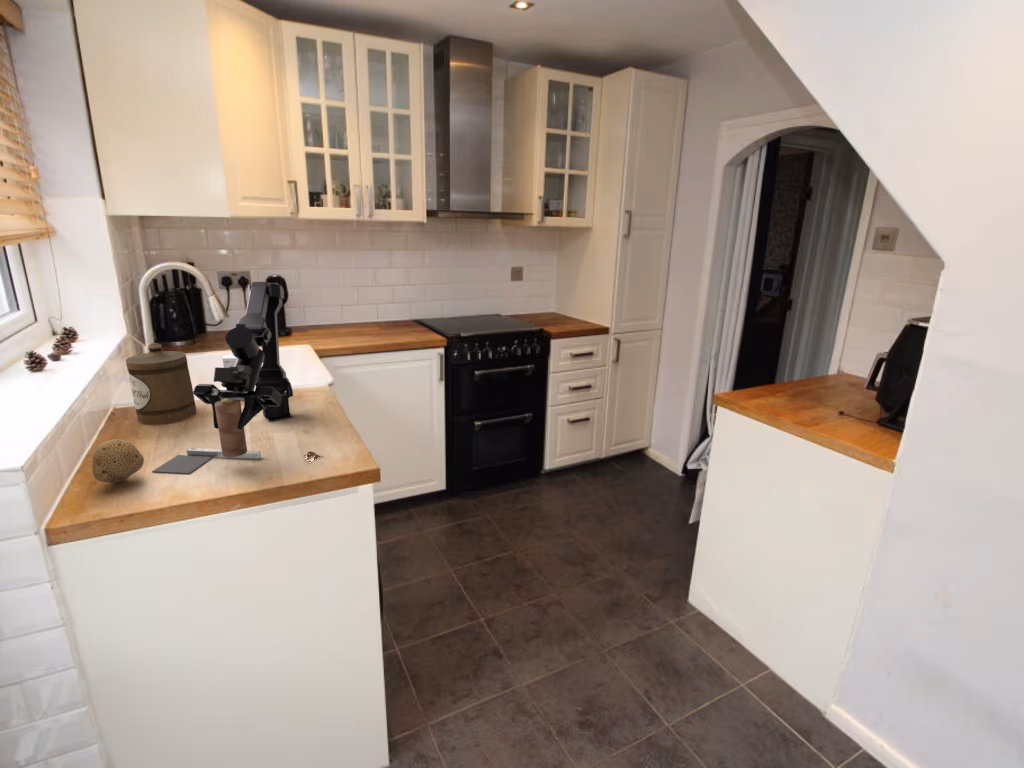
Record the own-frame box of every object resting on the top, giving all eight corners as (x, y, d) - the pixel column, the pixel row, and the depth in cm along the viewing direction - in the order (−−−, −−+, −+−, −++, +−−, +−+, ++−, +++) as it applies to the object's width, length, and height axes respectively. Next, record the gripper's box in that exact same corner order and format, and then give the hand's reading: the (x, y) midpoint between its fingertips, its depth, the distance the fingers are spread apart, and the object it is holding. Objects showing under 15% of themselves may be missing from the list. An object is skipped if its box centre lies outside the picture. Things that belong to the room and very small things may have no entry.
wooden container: (136, 414, 160) (121, 341, 154) (192, 404, 169) (181, 336, 162) (139, 429, 149) (123, 352, 142) (200, 418, 157) (188, 345, 151)
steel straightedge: (261, 456, 133) (260, 451, 132) (257, 459, 131) (257, 453, 131) (191, 453, 134) (190, 447, 134) (187, 456, 133) (186, 450, 132)
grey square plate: (213, 457, 132) (213, 456, 132) (189, 474, 123) (189, 473, 123) (178, 456, 132) (178, 454, 132) (152, 472, 124) (152, 471, 124)
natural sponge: (154, 471, 124) (146, 431, 121) (134, 490, 116) (125, 447, 113) (111, 473, 123) (102, 433, 120) (88, 492, 114) (77, 449, 112)
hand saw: (257, 441, 143) (257, 438, 143) (274, 436, 147) (273, 433, 147) (308, 465, 129) (308, 463, 129) (325, 459, 133) (325, 457, 132)
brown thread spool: (244, 446, 129) (237, 395, 125) (249, 453, 125) (242, 401, 122) (220, 451, 126) (212, 399, 122) (225, 459, 122) (216, 405, 119)
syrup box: (252, 394, 179) (247, 352, 174) (246, 400, 173) (240, 356, 169) (234, 395, 178) (228, 352, 174) (227, 401, 172) (221, 357, 168)
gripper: (191, 350, 123) (167, 412, 116) (270, 353, 122) (251, 415, 115) (216, 373, 133) (195, 432, 126) (289, 376, 132) (273, 435, 125)
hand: (227, 428), depth 123 cm, fingers closed on brown thread spool, 5 cm apart
